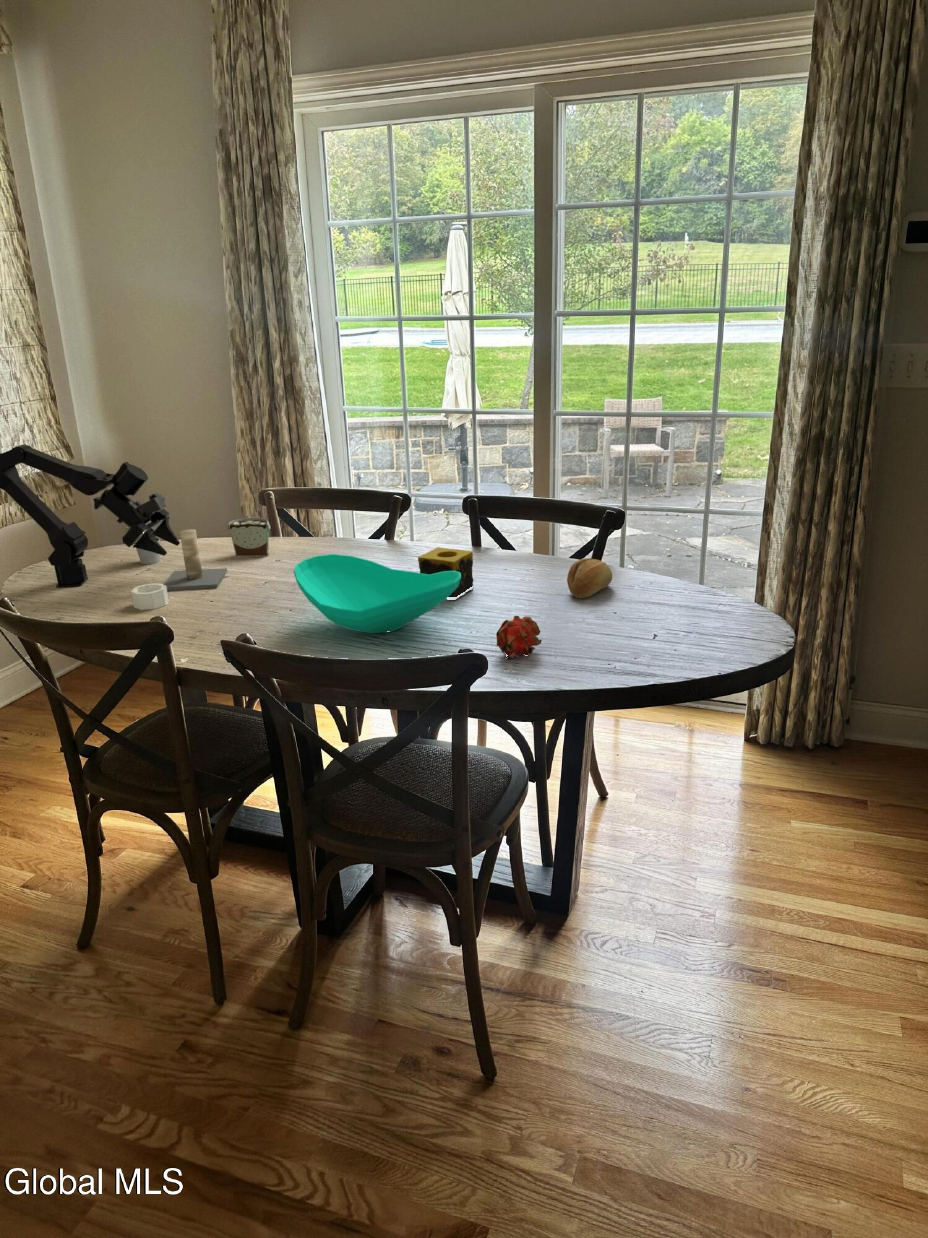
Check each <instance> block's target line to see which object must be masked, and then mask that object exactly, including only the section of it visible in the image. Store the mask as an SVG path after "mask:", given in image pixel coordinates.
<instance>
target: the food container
mask: <svg viewBox="0 0 928 1238" xmlns="http://www.w3.org/2000/svg"><path fill="white" fill-rule="evenodd" d="M227 530H229V532H230V535H231V540H232V544H233V549H234V550H233V551H234V553H235V557H236V556H245V557H269V555H270V554H269V530H271V524H270V522H269V520H268V519H267V518H264V517H245V518H239V519H238V518H236V519H234V520H230V521H229V522H228V524H227Z"/></svg>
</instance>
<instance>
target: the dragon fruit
mask: <svg viewBox="0 0 928 1238" xmlns="http://www.w3.org/2000/svg"><path fill="white" fill-rule="evenodd" d="M540 634H541V630H540V627H539V625H538V623H537V622H536V621H535V620H533V618H532V617H531V616H523V617H522V618H521V617H520V616H519V615H514V616H513V619H512V620H509V619H506V620H504V621H503V622H502V623H501V626H500V627H499V629H498V630H497V632H496V635H495V636H496V647H498V648H499V649H500V652H502V653H504V654H505V653H506V654H507V655H508V656H507V657H510V658H509V659H517V658H519V657H520V655H521V654H522V653H523V654H525V655H528V656H527V657H529V656H530V655H532V654H533V652H534V651H535V649H536V646H539V645H541V644H542V639H539V637H538V636H539V635H540ZM523 654H522V655H523ZM507 657H505V656H504V659H505V658H507ZM512 657H514V658H512Z"/></svg>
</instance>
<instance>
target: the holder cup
mask: <svg viewBox="0 0 928 1238" xmlns="http://www.w3.org/2000/svg"><path fill="white" fill-rule="evenodd" d="M163 584H164V583H160V582H159V583H145V584H142V585H139V586H135V587H133V589H132V590H131V591H130V594H131V598H132V600H131V601H132V605H133V608H135V609H137V610H140V611H143V610H146V611H147V610H155V609H159V608H161V607H162V608H163V607H164V606H165V607H166V606H167V605H168V603H169V602H170V601H169V594H168V591H167V587H166V585H163Z"/></svg>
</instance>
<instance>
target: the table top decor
mask: <svg viewBox="0 0 928 1238" xmlns="http://www.w3.org/2000/svg"><path fill="white" fill-rule="evenodd" d="M293 574H294V575H293V576H294V577H295V582H296V583H297V585H298V588H299V590H300V591H301V592H302V593H303V595H304V596H305V598H306V599H307V601H308V602H310V603H311V604H312V605H313V606H314V607H315V608H316V609H317V610H318V611H319V612H320V613H321V614H322V615H323V616H324V617H326V619H328V620H329V621H330V622H332V623H334V624H335V625H337V626H339V627H341V628H345V629H348V630H351V631H356V632H361V633H367V634H381V633H380V632H387V631H392V632H394V630H395V631H397V630H400V629H401V628H403V627H404V626H406V625H407V624H410V623H411V622H413V621H414V620H417V619H418V618H419V617H422V616H423V615H425V614H426V613H429V612H430V611H432V609H434V608H436V607H437V606H439V605H440V604H442V603H443V602H445V601H446V600H445V599H446V598H447V597H449V596H450V595H451V594H452V593H453V591H454V590H455V589H456V588H457V587H458V586H459V583H460V579H461V573H460V572H457V571H444V572H439V573H434V574H430V575H429V574H423V573H420V572H417V571H410V570H403V569H402V570H401V569H393V568H390V567H388V566H385V565H383V564H380V563H378V562H374V561H372V560H368V559H365V558H360V557H357V556H353V555H344V554H338V553H337V554H336V553H335V554H334V553H332V554H331V553H329V554H322V555H316V556H312V557H308V558H305V559H303V560H302V561H299V562H298V563H297V564H296V565H295V566H294V570H293ZM387 633H388V632H387Z"/></svg>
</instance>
